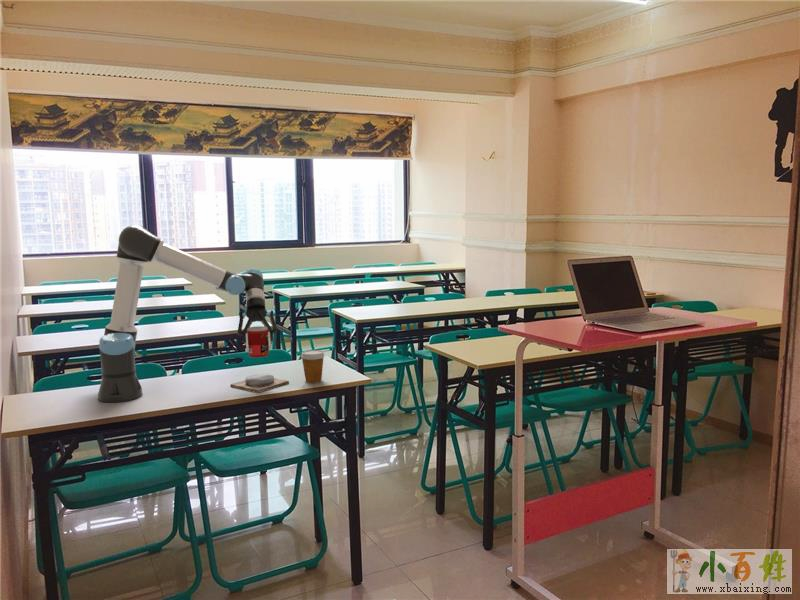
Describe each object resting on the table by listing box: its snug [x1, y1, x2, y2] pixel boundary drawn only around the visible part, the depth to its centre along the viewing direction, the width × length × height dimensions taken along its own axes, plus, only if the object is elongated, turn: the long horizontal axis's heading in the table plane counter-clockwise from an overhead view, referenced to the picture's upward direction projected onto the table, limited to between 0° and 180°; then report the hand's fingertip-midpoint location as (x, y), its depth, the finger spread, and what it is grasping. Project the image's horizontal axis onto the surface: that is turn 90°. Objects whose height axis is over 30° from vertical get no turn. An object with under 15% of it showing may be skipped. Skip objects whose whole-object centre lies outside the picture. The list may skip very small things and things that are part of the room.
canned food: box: [247, 325, 270, 358], centre depth 247 cm, size 8×8×11 cm
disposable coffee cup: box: [300, 349, 325, 384], centre depth 253 cm, size 10×10×12 cm
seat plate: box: [230, 373, 290, 393], centre depth 249 cm, size 16×16×3 cm
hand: (258, 348), depth 244 cm, fingers closed on canned food, 8 cm apart
